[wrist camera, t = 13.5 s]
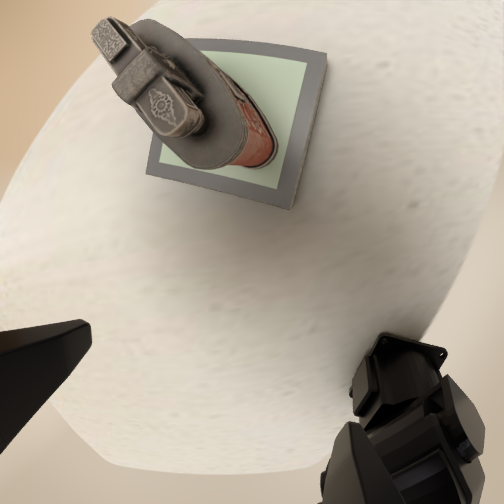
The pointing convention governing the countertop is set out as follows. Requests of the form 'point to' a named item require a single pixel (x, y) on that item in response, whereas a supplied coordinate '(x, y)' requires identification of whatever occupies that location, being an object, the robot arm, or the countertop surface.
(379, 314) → the countertop surface
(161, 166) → the baseplate
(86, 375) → the countertop surface
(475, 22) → the countertop surface
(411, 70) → the countertop surface
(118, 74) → the lighter
